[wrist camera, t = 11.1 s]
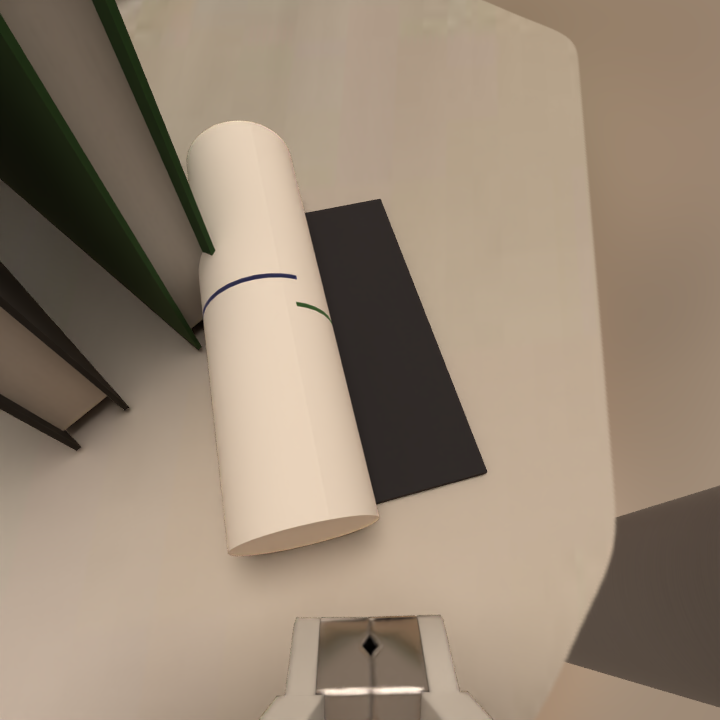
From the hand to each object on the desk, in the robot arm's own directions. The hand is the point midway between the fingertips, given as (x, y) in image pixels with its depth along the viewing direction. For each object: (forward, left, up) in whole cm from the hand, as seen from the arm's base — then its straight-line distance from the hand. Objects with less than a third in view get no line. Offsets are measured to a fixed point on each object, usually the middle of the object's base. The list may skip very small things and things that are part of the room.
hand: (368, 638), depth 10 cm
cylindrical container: (+2, -4, -12) cm, 13 cm away
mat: (-2, -16, -16) cm, 23 cm away
